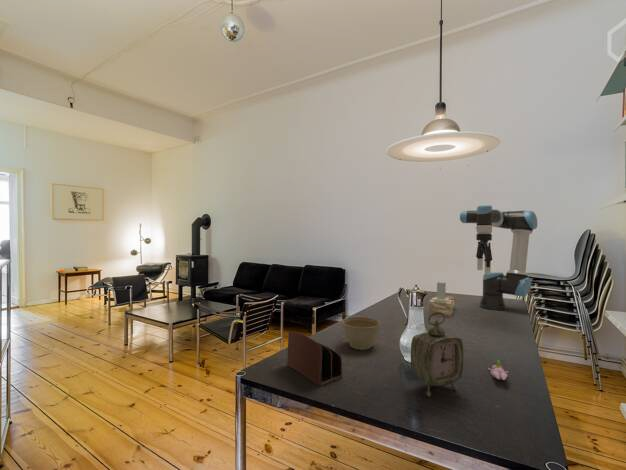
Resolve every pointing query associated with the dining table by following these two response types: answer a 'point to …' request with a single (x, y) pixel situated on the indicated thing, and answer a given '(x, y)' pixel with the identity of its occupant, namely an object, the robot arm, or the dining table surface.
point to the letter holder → (313, 359)
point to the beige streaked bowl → (441, 307)
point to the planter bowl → (360, 331)
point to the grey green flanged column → (441, 292)
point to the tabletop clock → (437, 356)
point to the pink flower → (498, 371)
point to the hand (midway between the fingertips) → (483, 271)
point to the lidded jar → (450, 298)
